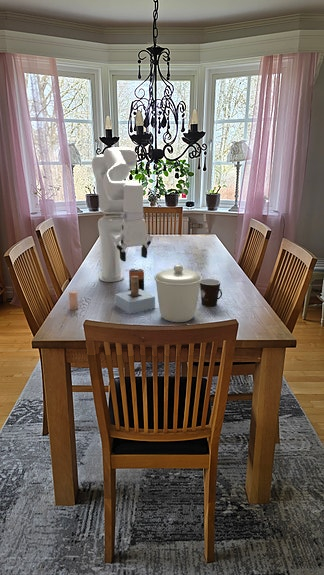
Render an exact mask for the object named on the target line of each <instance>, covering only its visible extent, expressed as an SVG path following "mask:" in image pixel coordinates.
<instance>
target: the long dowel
mask: <svg viewBox="0 0 324 575" xmlns="http://www.w3.org/2000/svg"><path fill="white" fill-rule="evenodd" d="M131 297H132V298H135V297H139V281H138V276H131Z"/></svg>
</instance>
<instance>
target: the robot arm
mask: <svg viewBox="0 0 324 575" xmlns="http://www.w3.org/2000/svg"><path fill="white" fill-rule="evenodd" d="M137 161H138V159H137V153H136V151H135V150H134V149H133V148H131V147H110V148H109V147H108V148H107V149H106V150H104V152H103V154H98V155H95V156H93V157H92V160H91V167H92V173H93V175H94V179H95V180H96V184H97V191H98V192H97V193H98V194H97V195H98V204H99V210H100V212H101V213H103V214H120V215H106V216H102V217H101V218H99V219H98V221H97V228H98V234H99V240H100V241H99V242H100V258H101V259H100V260H101V261H100V262H101V269H100V271H101V274H100V275H99V276H98V280H99V281H101V282H105V283H114V282H120V281H122V280H124V278H125V276H124V274H122V273H121V261H122V262H123V263H124V262H126V261H127V256H126V255H127V253H126V249H127V248H133V247H138V246H141V248H140V250H141V254H140V255H141V257H142V258H144V259H147V257H148V249H149V246H150V245H151V243H152V241H153V238H154V237H153V236H152V235H151V234H148V230H147V223H146V222H147V221H146V219H144V186H143V185H142V184H141V183H140V182H138V181H136V180H125V179H127V177H128V176H129V173H130V172H131V171H133V170H134V168H135V167H136V165H137V163H138V162H137ZM115 236H118V237H117V238H116V237H115Z"/></svg>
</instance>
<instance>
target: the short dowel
mask: <svg viewBox="0 0 324 575" xmlns="http://www.w3.org/2000/svg"><path fill="white" fill-rule="evenodd" d="M68 299H69V300H68V301H69V310H70V311H76V310H78V309H79V307H78V306H79V304H78V292H77V291H76V290H72V291H68Z"/></svg>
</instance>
